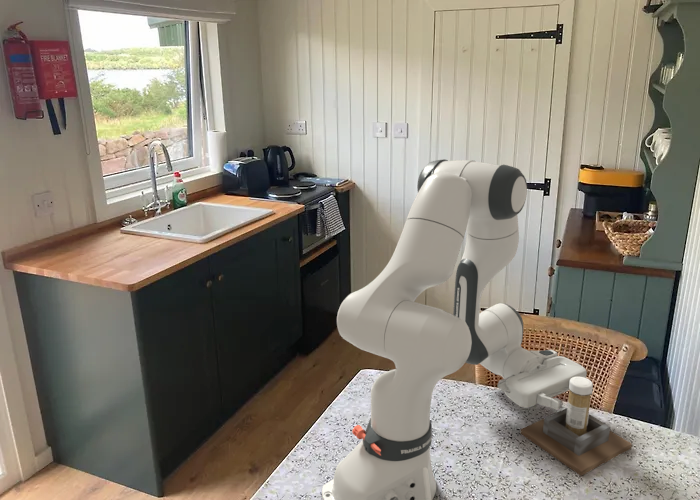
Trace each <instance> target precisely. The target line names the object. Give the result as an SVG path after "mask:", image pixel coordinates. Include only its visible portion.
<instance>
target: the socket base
mask: <svg viewBox="0 0 700 500" xmlns="http://www.w3.org/2000/svg"><path fill="white" fill-rule="evenodd" d="M566 414H567V407H566V408H564V409H561V410H560V411H558V412H555V413H552V414H551V415H548V416H547V417H544V418H542V419H540V420H538V421H535V422H533V423H531V424H529V425H527V426H524V427H522V428H520V430H519V431H520V432H519V434H520V435H521V436H523V437H525V439H528V440H529V441H530V442H531V443H533V444H534V445H536V446H537V447H539V448H540V449H542V450H543V451H545V452H546V454H547V453H548V454H549V455H550V456H552V457H553V458H554V459H556V460H558V462H560V463H561V464H563V465H564V466H566V467H568V469H570V470H572V471H573V472H575V474H577V475H579V476H580V477H582V476H584V475H585V474H588V473H589V472H591V471H593V470H595V469H597V468H599V467H600V466H602V465H604V464H605V463H607V462H610V461H611V460H613V459H614V458H617V457H618V456H621V455H622V454H624V453H626V452H627V451H629V450H632V446H633V444H632V443H631V442H630V441H628V440H627V439H624V438H623V437H622V436H620V435H618V434H617V433H614V432H613V431H612V430H611V426H610V425H608V424H607V423H606V422H605V423H604V422H603V421H601V420H599V419H598V418H596V417H594V416H593V415H591V414H590V413H589V417H588V425H587V430H586V434H584V435H582V436H578V435H576V434H575V433H573V432H572V431H570V430H569V429H567V428H565V425H566Z"/></svg>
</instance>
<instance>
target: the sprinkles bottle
mask: <svg viewBox="0 0 700 500" xmlns="http://www.w3.org/2000/svg"><path fill="white" fill-rule="evenodd" d="M593 386H594V385H593V382H592V380H590V379H589V378H587V377H586V378H584V377H573V378H571V379H570V382H569V390H568V399H567V407H566V408H567V414H566V425H565V428H567V429H569V430H570V431H572V432H573V433H575V434H576V435H578V436H582V435H584V434H586V430H587V425H588V417H589V414H590V407H591V405H590V403H591V396H592V395H591V393H592V394H593V391H592V389H593Z"/></svg>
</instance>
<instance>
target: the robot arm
mask: <svg viewBox="0 0 700 500" xmlns="http://www.w3.org/2000/svg"><path fill="white" fill-rule="evenodd" d="M527 194H528V183H527V179H526V176H525V175H524V174H523V173H522V171H521V170H520V169H519V168H517V167H514V166H512V165H507V164H501V165H499V164H493V163H489V162H482V161H476V160H469V159H464V160H463V159H457V160H456V159H455V160H448V159H437V160H432V161H430V162H428V163H427V164H426V165H425V166H424V167H423V168H422V169H421V172H420V173H419V176H418V180H417V194H416V196H415V199H414V200H413V202H412V203H411V206H410V209H409V212H408V214H407V217H406V220H405V222H404V225H403V228H402V232H401V233H400V236H399V239H398V241H397V244H396V247H395V250H394V251H393V254H392V255H391V258H390V259H389V261H388V263H387V264H386V266H385V267H384V268H383V270H382V271H381V272H380V273H378V275H377V276H376V277H375V278H374V279H373V280H372V281H371V282H369V283H368V284H367V285H366V286H363V287H362V288H360V289H358V290H356V291H353V292H351V293H349V294H348V295H347V296H346V297H345V298H344V299H343V301H342V302H341V304H339V305H340V306H339V309H338V311H337V316H336V326H337V331H338V333H339V336H341V339H343V340H345V341H346V342H348V343H349V344H352V345H353V346H354V347H356V348H358V349H360V350H361V351H365V352H368V353H370V354H373V355H376V356H379V357H382V358H385V359H388V360H390V361H392V362H393V363H394V366H395V368H394V369H390V370H389V371H385V372H384V373H382V374H380V375H379V376H377V378H376V379H375V380H374V382H373V384H372V385H371V388H370V418H369V421H368V423H367V426H366V428H365V429H364V428H363V427H362V426H361V425H360V424H357V425H355V426H354V427H353V428H352V430H351V431H352V434H353V436H355V437H356V438H357V439H358V440H360V442H359V443H358V444H357V445H355V447H354V448H353V449H352V450H351V451H350V452H349V453H348V454H347V455H346V456H345V457H344V458H343V459H342V460H341V461H340V462H339V463H337V465H336V468H335V471H334V474H333V478H332V479H331V480H329V481H328V482H327V483H324V484H323V485H322V488H321V491H322V492H321V499H322V500H434V497H435V495H436V493H437V481H436V479H435V475H434V471H433V467H432V460H431V459H432V458H431V448H430V447H431V444H432V440H433V439H432V438H433V432H432V431H433V428H432V427H433V426H432V425H433V424H432V421H431V420H430V419H431V404H432V396H433V391H434V390H435V388H436V386H437V384H438V382H440V380H441V379H443V378H444V377H446V376H448V375H451V374H454V373H456V372H458V371H459V369H461V368H462V367H463V366H464V364H468V365H474V366H477V365H478V366H479V365H481V366H482V367H483V368H485V369H486V370H488V371H490V372H491V373H493V374H494V375H497V376H501V377H502V379H500V380H498V383H497V388H498V389H499V390H500V391H501V392H503V393H505V395H506V397H508V398H509V399H510V400H511V401H512V402H513V403H514V404H516V405H517V406H518V407H521V408H522V409H523V408H524V409H529V408H532V407H533V406H536V405H540V406H544V407H549V408H552V409H554V410H556V411H558V410H560V409H561V410H562V409H563V405H564V402H563V400H561V399H559V398H558V397H557V396H559V395H561V394H564V393H566V392H569V382H570V379H571V378H573V377H584V378H587V369H586V367H584V366H582V365H581V364H580V363H578V362H576V361H573V359H570V358H568V357H565V356H562V355H558V352H557V351H555V350H553V349H545V350H533V349H532V350H527V349H526V348H523V347H522V344H523V340H524V339H523V338H524V320H523V318H522V315H521V314H520V312H518V311H517V310H516V309H515V308H514V307H513V306H511V305H509V304H507V303H503V302H498V303H496V304H494V305H492V306H490V307H488V308H486V309H484V310H482V311H481V299H482V298H481V297H482V295H483V292H484V290H485V288H486V287H487V286H488V285H489V283H490V282H491V281H492V279H494V278H495V277H496V276H497V275H498V274H499V273H500V272H501V271H502V270H503V269H505V268H506V267H507V266H508V265H509V264H510V263H511V262H512V260H514V258H515V256H516V254H517V253H518V252H517V251H518V248H519V243H520V241H519V239H520V235H519V233H520V232H519V218H518V215H519V214H520V213H521V211H522V210H523V208H524V207H525V203H526V201H527ZM465 235H466V238H465ZM464 239H466V240H465V246H464V251H463V255H462V257H461V260H460V261H459V263H458V266H457V268H456V271H455V272H456V274H455V280H454V281H455V282H454V283H455V284H454V295H453V297H454V299H453V313H450V312H448V311H446V310H444V309H442V308H440V307H435V306H431V305H428V304H423V303H420V302H417V301H416V299H417V298H418V297H419V296H420V295H421V294H422V293H423V292H424V291H426V290H427V289H429V288H433V287H436V286H440V285H442V284H444V283H446V282H447V281H448V280H449V279H450V277H451V276H452V275H453V273H454V270H455V267H456V263H457V260H458V257H459V255H460V251H461V248H462V244H463V243H464ZM415 301H416V302H415ZM480 311H481V312H480ZM592 395H593V389H592V393H591V396H592ZM554 397H555V398H554Z"/></svg>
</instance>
